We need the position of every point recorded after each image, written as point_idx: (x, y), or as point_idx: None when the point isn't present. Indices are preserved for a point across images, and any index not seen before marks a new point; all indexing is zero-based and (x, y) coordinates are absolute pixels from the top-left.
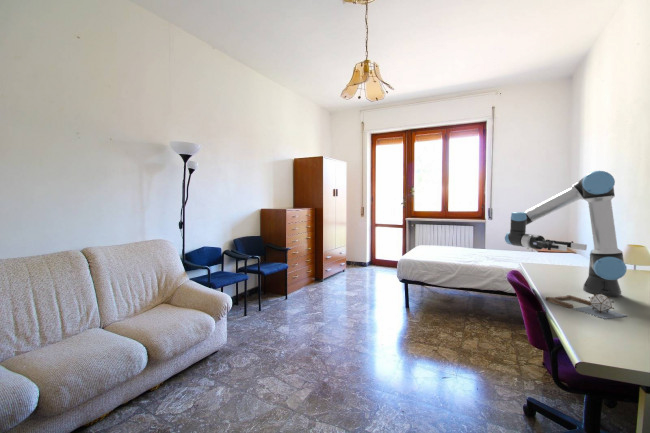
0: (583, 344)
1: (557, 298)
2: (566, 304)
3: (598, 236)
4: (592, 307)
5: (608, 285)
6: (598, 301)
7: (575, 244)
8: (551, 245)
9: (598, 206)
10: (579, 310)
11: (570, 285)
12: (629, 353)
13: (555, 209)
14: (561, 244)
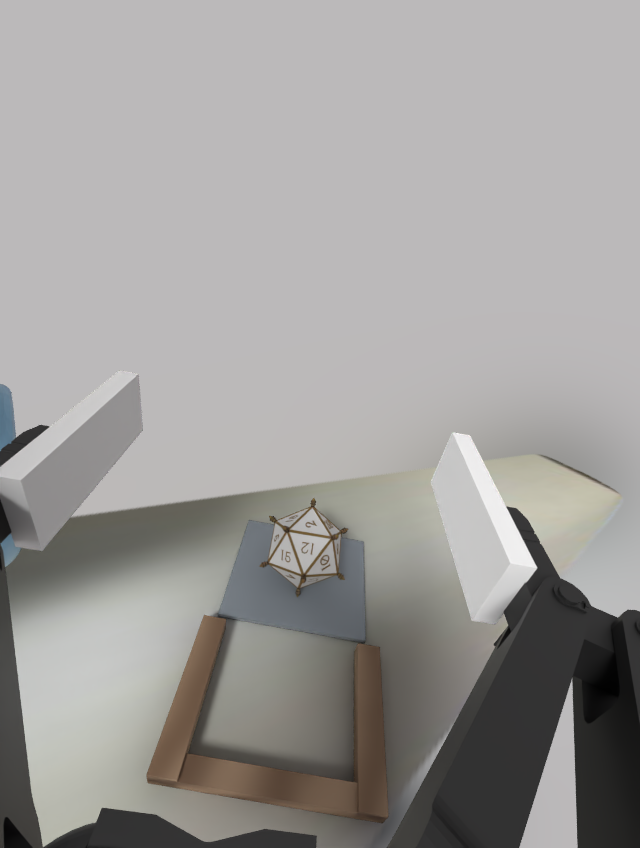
0: (574, 513)
1: (306, 774)
2: (379, 665)
3: None
4: (266, 607)
5: None
6: (339, 537)
7: (72, 451)
8: (552, 573)
9: None
10: (364, 617)
11: None
12: (505, 471)
13: None
14: (6, 657)
